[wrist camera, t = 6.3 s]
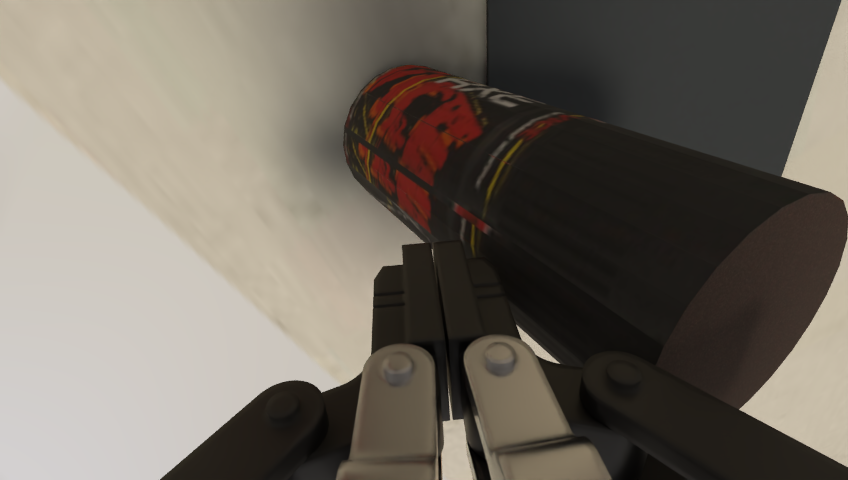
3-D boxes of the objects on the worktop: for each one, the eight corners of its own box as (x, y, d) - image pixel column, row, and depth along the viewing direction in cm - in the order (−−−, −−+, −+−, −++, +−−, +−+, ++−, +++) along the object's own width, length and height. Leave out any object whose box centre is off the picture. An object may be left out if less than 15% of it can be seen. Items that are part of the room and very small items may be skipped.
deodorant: (452, 45, 20) (885, 140, 9) (473, 169, 24) (805, 356, 12) (323, 93, 19) (652, 291, 7) (365, 220, 22) (634, 494, 10)
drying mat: (486, -90, 18) (487, -90, 18) (877, -122, 18) (883, -123, 18) (487, 319, 28) (488, 322, 28) (737, 294, 29) (740, 297, 29)
